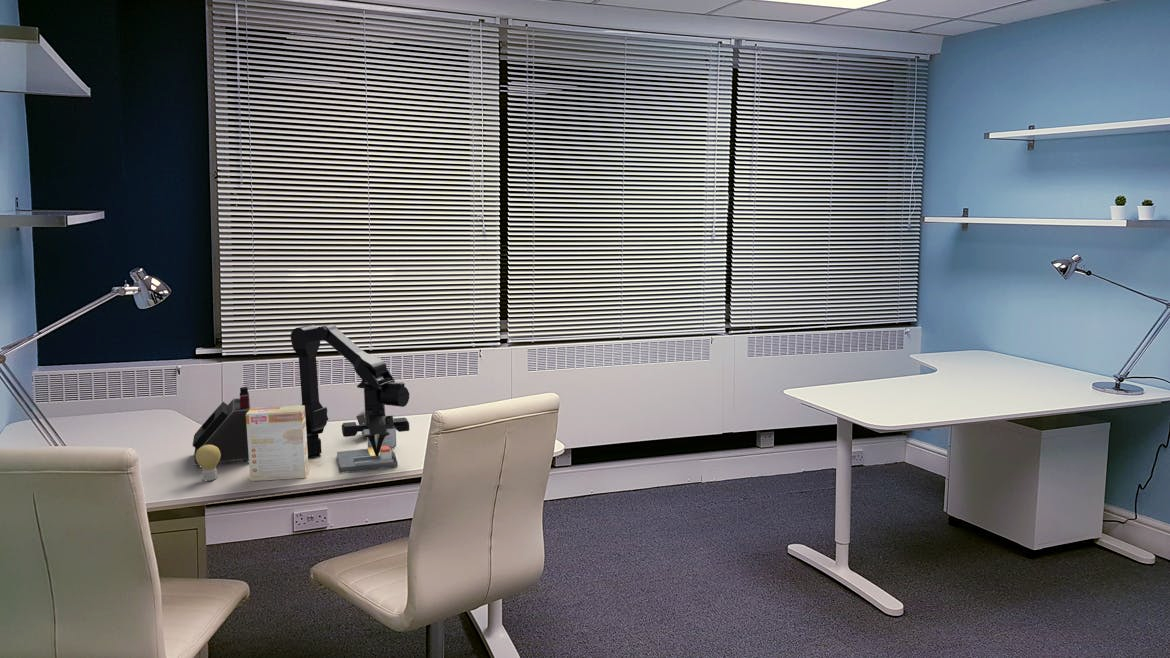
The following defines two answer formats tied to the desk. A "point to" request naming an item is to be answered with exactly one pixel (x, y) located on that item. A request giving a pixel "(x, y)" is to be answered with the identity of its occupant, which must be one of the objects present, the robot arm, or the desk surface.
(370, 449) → the pad
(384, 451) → the breaker toggle
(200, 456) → the light bulb
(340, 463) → the panel
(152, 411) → the desk surface
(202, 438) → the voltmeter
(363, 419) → the electrical switch
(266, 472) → the coffeecake box
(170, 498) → the desk surface
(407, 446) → the desk surface
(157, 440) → the desk surface
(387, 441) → the medicine box
